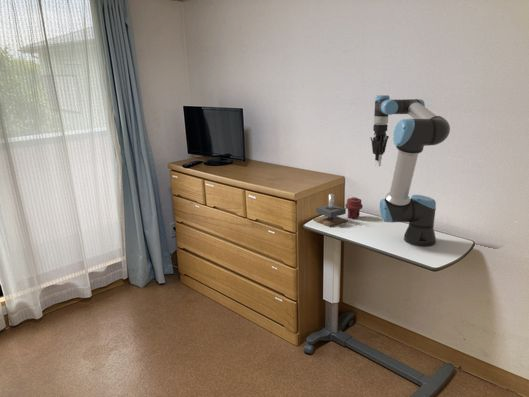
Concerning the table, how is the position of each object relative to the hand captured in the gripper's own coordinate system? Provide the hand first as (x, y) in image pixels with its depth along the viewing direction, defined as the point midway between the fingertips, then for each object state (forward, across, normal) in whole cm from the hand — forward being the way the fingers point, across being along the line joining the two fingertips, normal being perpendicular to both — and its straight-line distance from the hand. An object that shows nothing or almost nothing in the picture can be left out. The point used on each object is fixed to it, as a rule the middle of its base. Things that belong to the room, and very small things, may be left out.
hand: (377, 165), depth 230 cm
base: (+32, +23, -13) cm, 42 cm away
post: (+31, +23, -13) cm, 41 cm away
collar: (+27, +23, -13) cm, 38 cm away
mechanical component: (+33, +7, -10) cm, 35 cm away
